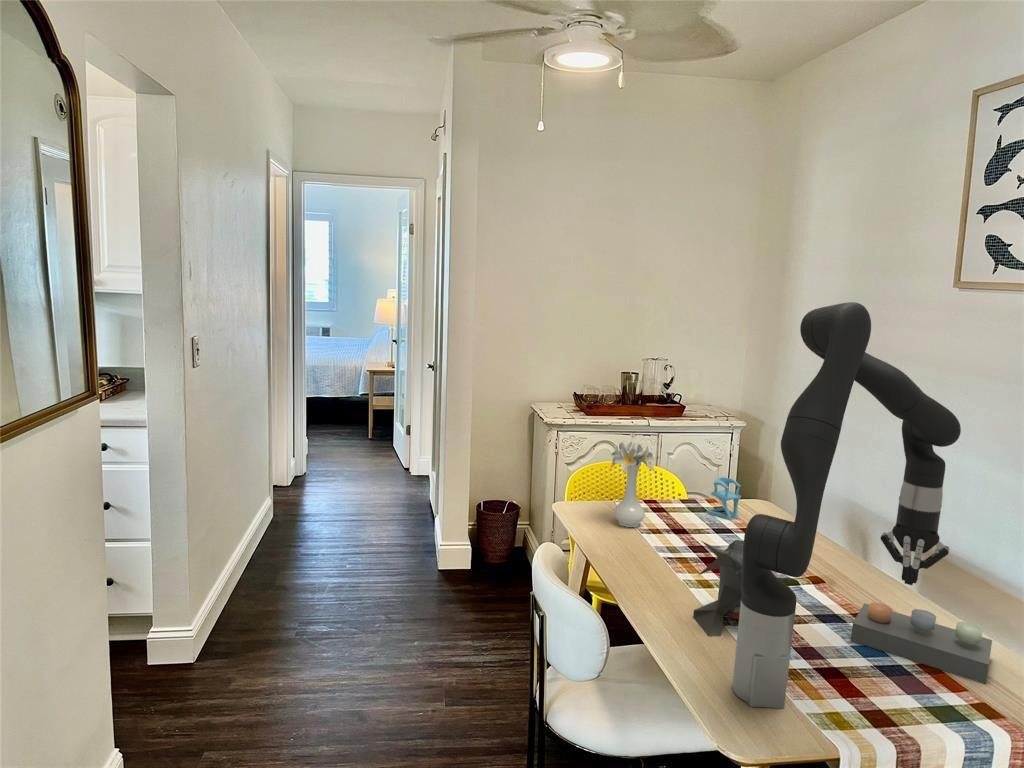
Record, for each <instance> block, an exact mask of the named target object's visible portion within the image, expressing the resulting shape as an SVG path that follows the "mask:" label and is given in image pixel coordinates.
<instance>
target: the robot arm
mask: <svg viewBox="0 0 1024 768" xmlns="http://www.w3.org/2000/svg"><path fill="white" fill-rule="evenodd" d="M799 328H800V330H799V331H800V332H799V333H800V337H801V339H802V342H803V343H804V345H805V346H806V348H807V349H809V350H810V351H811V352H812V353H813V354H815V355H816V356H817V357H819V358H821V359H822V360H823V363H822V365H821V367H820V369H819V371H818V372H817V374H816V375H815V377H814V378H813V379H812V381H811V382H810V383H809V384H808V385H807V386H806V387H805V389H804V390H803V391H802V392H801V393H800V395H799V396H798V397H797V399H796V400H795V402H794V403H793V405H792V406H791V408H790V409H789V412H788V414H787V417H786V422H785V426H784V428H783V432H782V436H781V440H780V449H781V451H780V452H781V454H782V457H783V461H784V463H785V466H786V469H787V471H788V474H789V477H790V480H791V482H792V485H793V488H794V489H793V490H794V494H795V499H796V500H795V501H796V512H795V517H794V521H791V520H788V519H783V518H779V517H776V516H771V515H767V514H763V513H759V514H755V515H753V516H752V517H751V518H750V520H749V521H748V523H747V525H746V528H745V532H744V537H743V541H744V543H743V565H742V580H741V590H742V596H741V606H740V614H739V619H738V625H737V635H736V636H737V637H736V646H735V653H734V655H735V656H734V662H733V663H734V665H733V675H732V685H731V688H732V691H733V692H734V694H735V696H737V697H738V698H739V699H741V700H742V701H744V702H746V703H747V704H748V706H750V707H754V708H777V709H779V708H781V709H783V708H785V705H786V696H787V687H788V681H789V679H788V678H789V671H790V663H791V662H790V661H791V660H790V659H791V652H792V643H793V633H794V626H795V625H794V624H795V617H796V609H797V596H796V593H795V592H794V590H793V589H792V588H791V587H790V586H788V585H787V584H786V583H784V582H783V581H781V580H780V579H779V578H778V576H777V577H776V576H775V575H774V574H773V573H772V572H771V571H774V572H776V573H778V574H781V575H785V576H788V577H792V578H800V577H802V576H803V575H804V574H805V573H806V571H807V569H808V567H809V565H810V562H811V558H812V556H813V551H814V546H815V540H816V535H817V530H818V523H819V519H820V512H821V507H822V503H823V498H824V493H825V489H826V484H827V481H828V478H829V474H830V470H831V468H832V467H831V466H832V464H833V460H834V456H835V453H836V450H837V446H838V443H839V440H840V435H841V430H842V428H843V427H842V426H843V422H844V417H845V412H846V409H847V405H848V402H849V399H850V396H851V392H852V389H853V385H854V383H855V382H856V384H858V385H860V386H861V387H862V388H864V389H865V390H866V391H868V393H870V395H872V396H873V397H874V398H875V399H876V400H877V401H878V402H879V403H880V404H881V405H882V406H883V407H884V408H885V409H886V410H887V411H888V412H889V413H890V414H892V415H893V416H895V417H896V418H898V419H900V420H902V423H901V436H902V444H903V449H904V450H903V451H904V457H905V466H904V475H903V481H902V485H901V488H900V492H899V493H900V494H899V496H898V508H897V514H896V520H895V525H894V526H893V528H892V529H891V531H888V532H883V533H882V534H881V536H880V540H881V543H882V544H883V545H884V548H886V551H888V553H889V554H890V556H891V558H892V559H893V561H895V562H896V563H899V564H901V565H902V572H901V580H902V581H904V584H906V585H909V586H913V584H916V583H917V582H918V578H919V572H920V571H919V570H920V569H926V570H927V569H930V568H931V567H933V566H934V565H935V564H936V563H938V562H939V561H941V560H942V559H944V558H945V557H947V556H948V555H949V553H950V547H949V546H947V545H945V544H943V543H942V542H941V541H940V535H939V525H940V519H941V511H942V506H943V495H944V491H943V488H944V480H945V473H946V460H944V459H943V458H942V457H941V456H939V455H938V454H937V453H936V452H935V450H934V447H939V448H942V447H949V446H951V445H953V444H955V443H956V442H957V441H958V440H959V438H960V436H961V431H962V430H961V424H960V421H959V419H958V417H957V416H956V415H955V414H954V413H953V412H952V411H951V410H950V409H948V408H947V407H945V405H942V404H941V403H940V402H938V401H937V400H935V399H934V398H932V397H931V396H929V395H928V394H926V393H925V392H924V391H923V390H922V389H921V388H920V387H919V386H918V385H917V384H916V382H914V381H913V380H912V379H911V378H910V377H909V376H908V375H907V374H906V373H905V372H903V371H902V370H901V369H899V368H897V367H895V366H894V365H892V364H890V363H888V362H886V361H884V360H882V359H880V358H877V357H875V356H873V355H872V354H869V353H867V349H868V344H869V342H870V337H871V334H872V333H871V331H872V319H871V315H870V313H869V310H868V309H867V308H866V307H865V306H864V305H863V304H861V303H858V302H856V301H855V302H854V301H853V302H841V303H837V304H832V305H828V306H822V307H818V308H815V309H812V310H810V311H808V312H806V314H805V315H804V316H803V318H802V319H801V323H800V327H799ZM933 446H934V447H933ZM895 540H896V542H897V543H898V544H899V546H900V547H901V548H902V549H903V551H902V553H901V552H900V550H899V549H898V546H896V545H895ZM934 547H935V548H934ZM933 548H934V553H932V554H931V555H929V556H928V557H927V558H925V559H923V560H922V557H923V554H925V553H927V552H928V551H930V550H931V549H933ZM913 552H914V556H913V560H912V553H913Z"/></svg>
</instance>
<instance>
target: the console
mask: <svg viewBox="0 0 1024 768" xmlns="http://www.w3.org/2000/svg"><path fill="white" fill-rule="evenodd" d="M869 604H870V603H869ZM869 604H868V603H863V604H862V607H861V608H860V610H859V612H858V614H857V615H856V616H855V619H854V620H853V621H852V624H851V625H852V627H851V633H850V641H851V642H854V643H857V644H860V645H862V646H866V647H869V648H873V649H876V650H879V651H882V652H884V653H888V654H892V655H894V656H897V657H901V658H904V659H907V660H910V661H913V662H915V663H916V662H917V663H920V664H923V665H925V666H929V667H932V668H936V669H938V670H941V671H944V672H948V673H950V674H954V675H957V676H960V677H963V678H966V679H969V680H972V681H975V682H978V683H982V684H986V683H987V677H988V670H989V665H990V659H991V651H992V644H993V640H992V639H990V638H986V637H983V636H982V638H981V643H980V644H970V643H966V642H963V641H961V640H959V639H958V638H956V636H955V632H956V628H951V627H948V626H944V625H940V624H939V623H938V624H937V623H935V629H934V630H931V631H928V630H922V629H919V628H916V627H914V626H913V625H912V624H911V623H910V621H911V615H910V616H909V615H906V614H903V613H899V612H896V611H893V610H892V615H891V621H890V622H889V623H880V622H876V621H874V620H872V619H870V618H869V617H868V609H869Z"/></svg>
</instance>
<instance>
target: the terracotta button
mask: <svg viewBox="0 0 1024 768" xmlns="http://www.w3.org/2000/svg"><path fill="white" fill-rule="evenodd" d="M892 611H893V609H892V608H891V607H890V606H889V605H886V604H884V603H880V602H871V603H869V609H868V617H869V618H870V619H872V620H874V621H876V622H880V623H889V622H890V621H891V615H892Z"/></svg>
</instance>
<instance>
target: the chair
mask: <svg viewBox="0 0 1024 768" xmlns="http://www.w3.org/2000/svg"><path fill="white" fill-rule="evenodd" d="M729 484H733V485H735V486H736V487H737V488H736V489H735V493H734V492H731V491H729V489H730V487H729ZM713 486H714V490H713V491H711V495H712V496H714V497H716V498H717V499H718V500H719V502H721V504H722V506H723V507H718V508H712V509H708V510H707V509H706V514H707V515H708V514H709V515H712V516H716V517H719V518H723V519H725V520H729V521H732V519H735V520H737V519H738V510H739V509H738V507H739V500H740V499H742V495H740V494H739V493H740V492H739V491H740V489H741V484H739V483H738V481H736V480H735V479H732V478H729V477H724V476H721V477H718V478H716V479H715V480H714V481H713ZM718 486H721V487H723V488H724V490H719V491H718ZM731 500H733V512H732V511H730V510H729V507H728V505H727V502H728V501H731ZM722 511H723V512H725V514H724V513H720V512H722Z"/></svg>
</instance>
